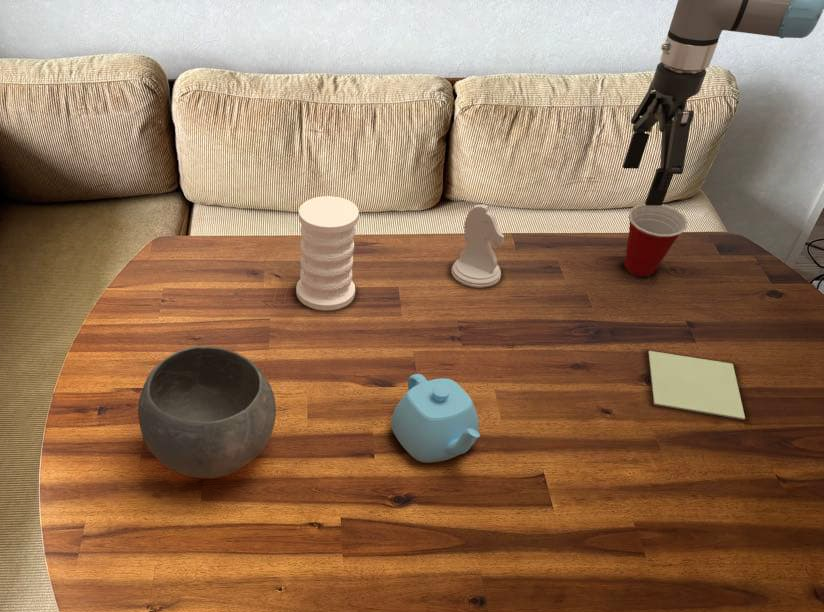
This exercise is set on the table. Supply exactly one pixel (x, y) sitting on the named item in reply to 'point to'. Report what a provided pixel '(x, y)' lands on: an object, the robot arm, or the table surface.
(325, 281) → the decorative container
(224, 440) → the bowl
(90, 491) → the table surface
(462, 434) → the teapot
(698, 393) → the mat
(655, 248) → the plastic cup
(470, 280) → the chess piece
